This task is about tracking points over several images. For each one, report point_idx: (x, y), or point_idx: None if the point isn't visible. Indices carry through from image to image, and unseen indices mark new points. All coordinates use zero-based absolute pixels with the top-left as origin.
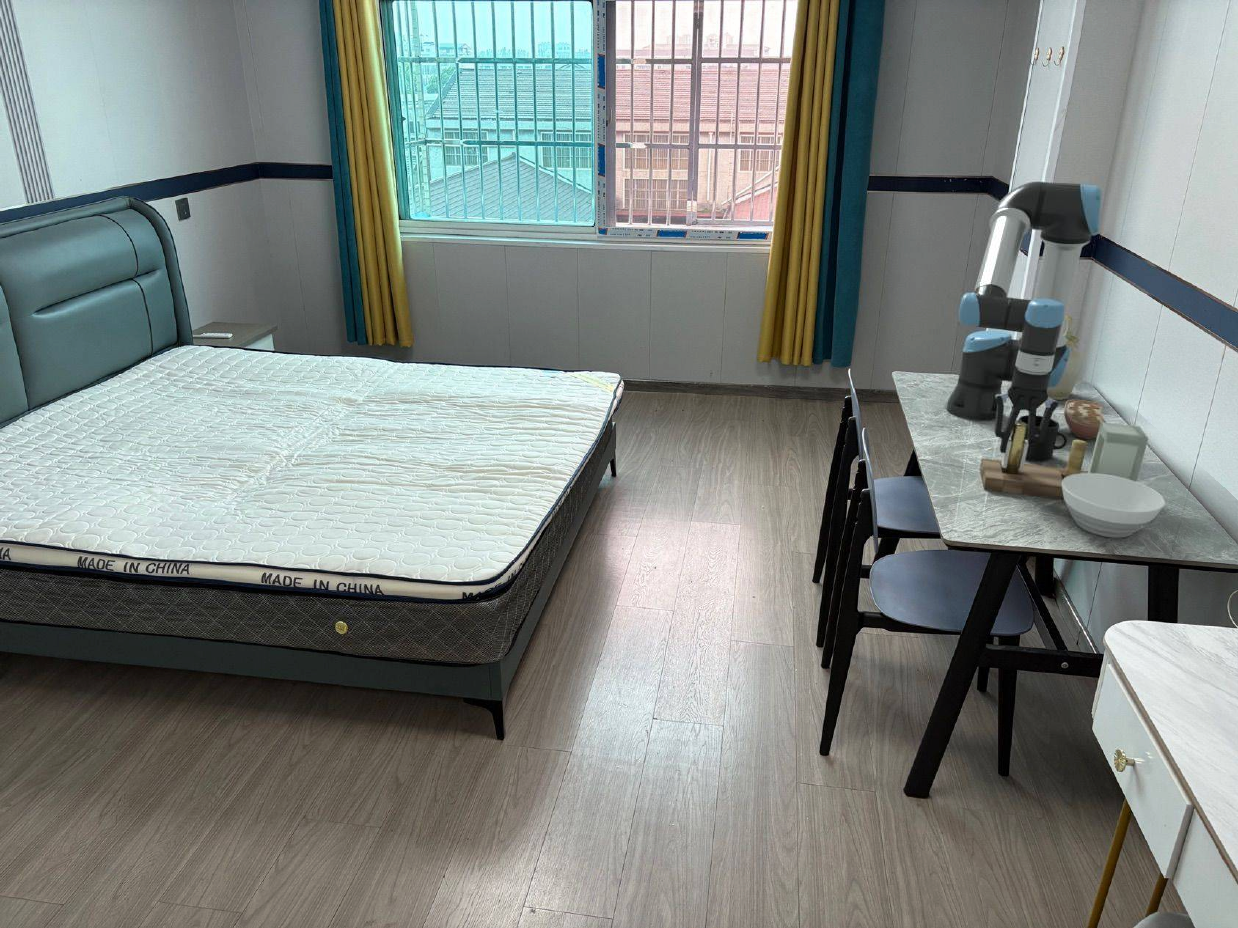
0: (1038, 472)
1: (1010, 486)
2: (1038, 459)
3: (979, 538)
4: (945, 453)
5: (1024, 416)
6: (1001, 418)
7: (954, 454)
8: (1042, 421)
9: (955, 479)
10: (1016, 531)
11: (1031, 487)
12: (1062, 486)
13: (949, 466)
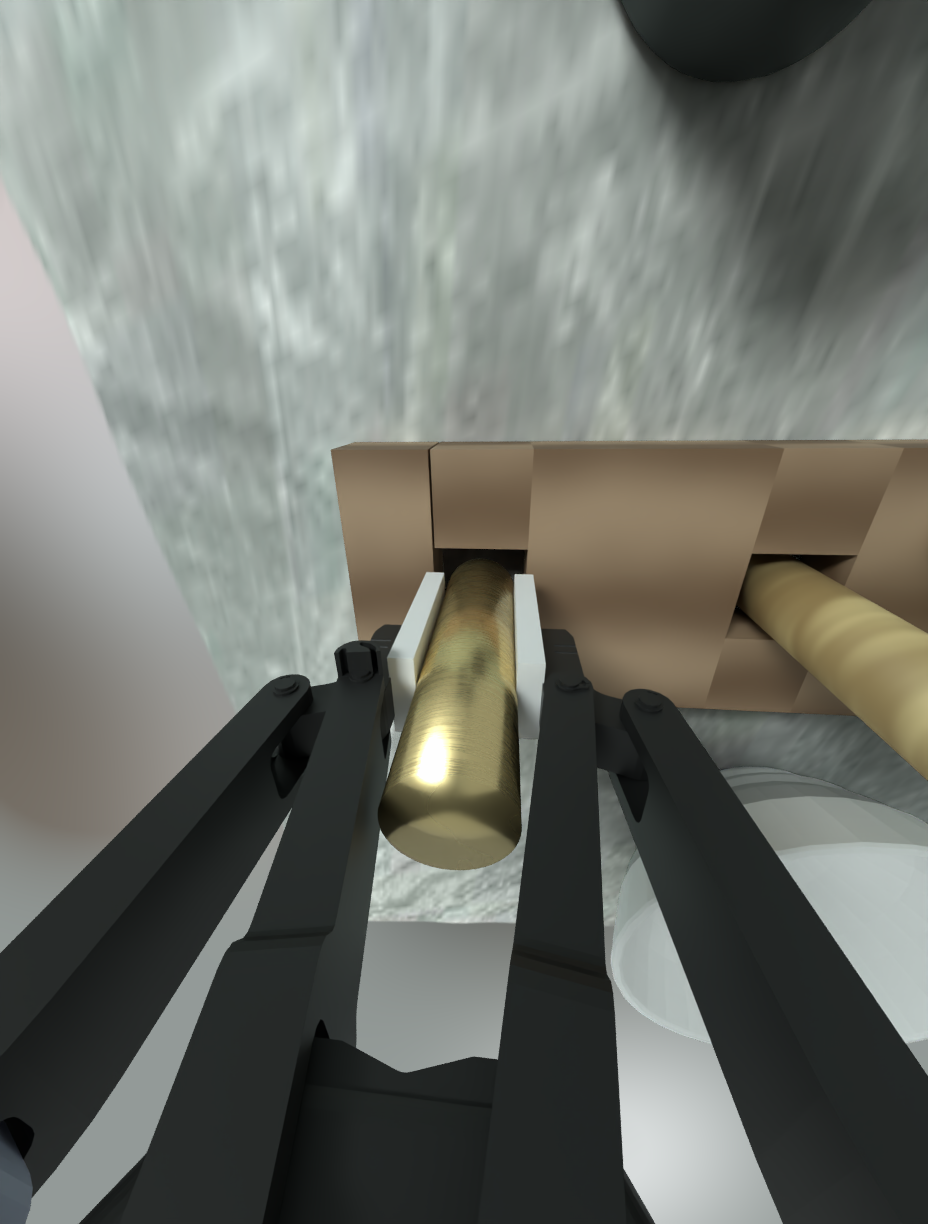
0: (625, 566)
1: None
2: (769, 72)
3: (378, 911)
4: (136, 204)
5: None
6: (215, 904)
7: (189, 198)
8: (689, 910)
9: (269, 597)
10: (465, 878)
11: None
12: (612, 951)
13: (213, 445)
